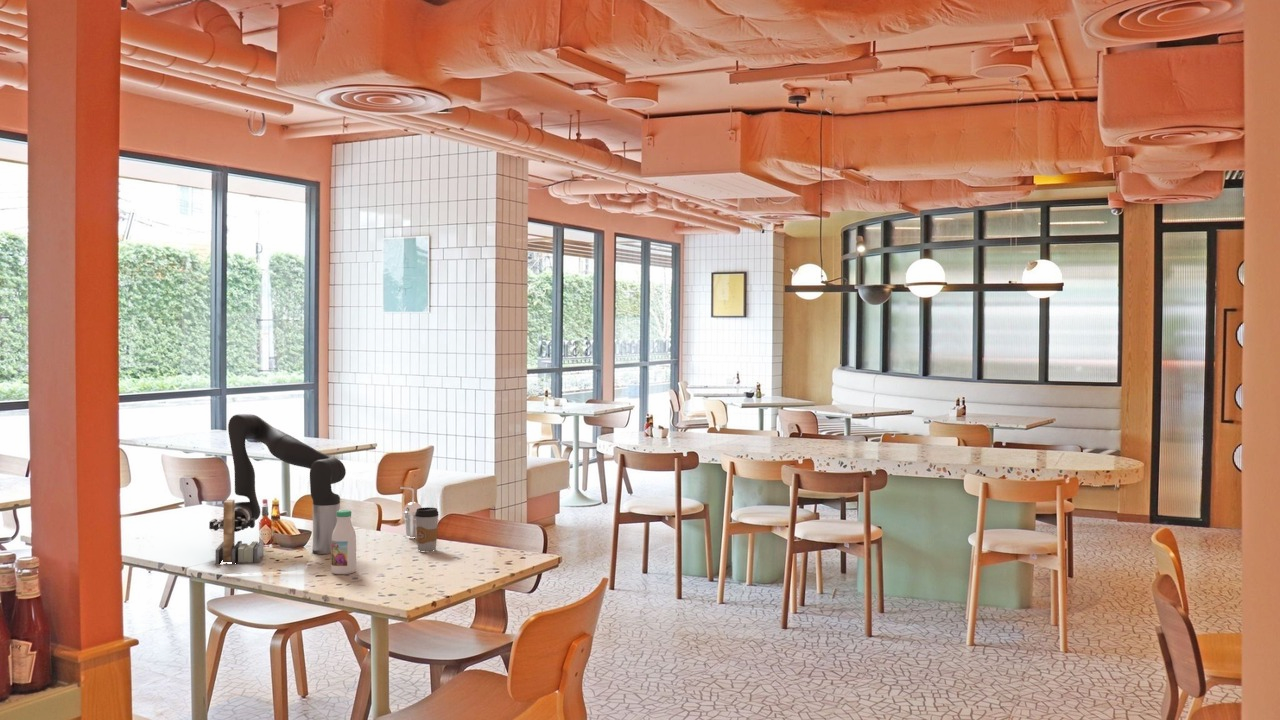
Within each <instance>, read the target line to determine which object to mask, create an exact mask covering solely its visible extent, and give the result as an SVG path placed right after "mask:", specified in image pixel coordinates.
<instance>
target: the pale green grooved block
mask: <svg viewBox="0 0 1280 720" xmlns="http://www.w3.org/2000/svg"><path fill="white" fill-rule="evenodd" d="M258 543H259V542H258V541H257V540H256V541H251V543H250V544H248V543H242V545H241V546H240V547H239V549H238V562H254V548H255V547H256V545H257V544H258Z"/></svg>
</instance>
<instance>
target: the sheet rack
mask: <svg viewBox="0 0 1280 720" xmlns="http://www.w3.org/2000/svg"><path fill="white" fill-rule="evenodd" d="M242 544H243V542H242V540H238V541H237V542H236V544H235V546H234V547H233V548H232V564H231V565H246V564H247V565H250V564H251V565H252V564H258V563H259V562H260V560H261V559H262V557H263V556H264V539H260V540H259V542H258V544H257V545H256V547H255V548H254V562H238V549H239V547H240V546H241V545H242ZM222 560H223V541H222V542H221V543H220V544H219V545H218V546H217V548H215V565H216V564H220V563H221V561H222ZM235 563H236V564H235Z"/></svg>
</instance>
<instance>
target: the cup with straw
mask: <svg viewBox="0 0 1280 720" xmlns="http://www.w3.org/2000/svg"><path fill="white" fill-rule="evenodd" d="M398 489H399V490H409V491H411V502H410V501H409V502H408V503H406V504H405V505H404V507H403V509H402V510H401V514H403V520H404V524H405V525H404V527H405V534H406V537H407V536H410V537H415V538H417V533H416V516H415V513H416V511H417V509H418V508H423V507H422V506H421V504H420V503H418V502H417V501H415V489H414V488H413V487H405V486H399V488H398ZM409 540H415V539H414V538H409Z"/></svg>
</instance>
